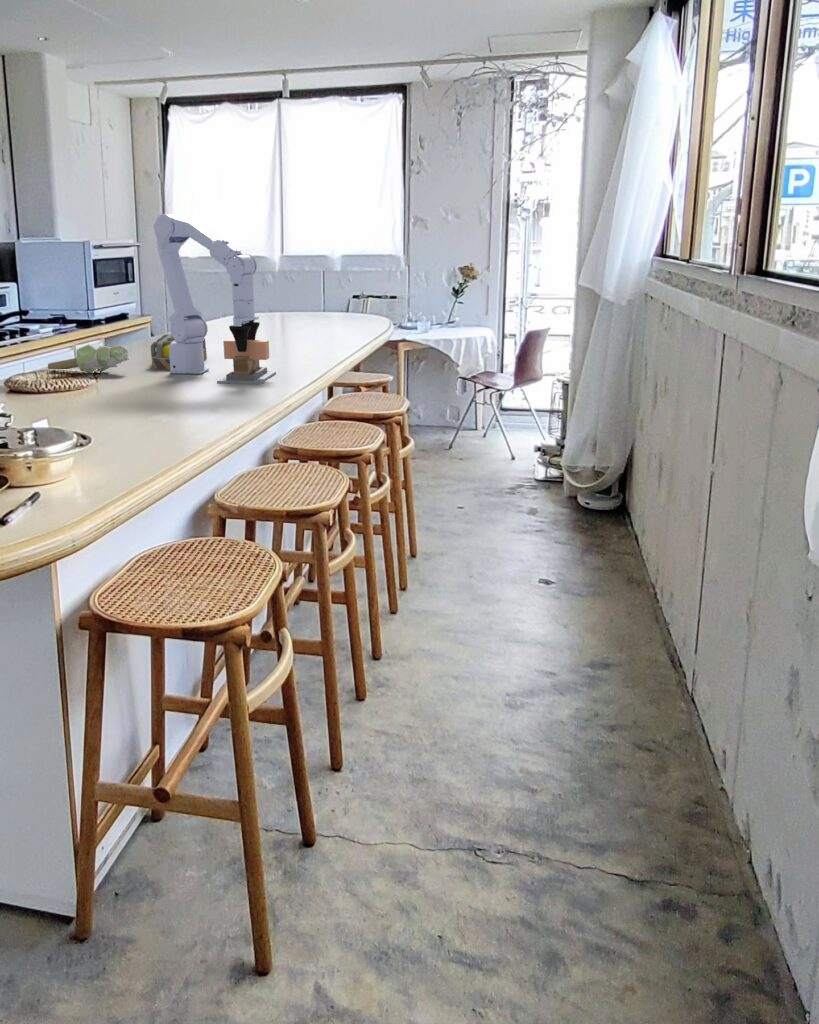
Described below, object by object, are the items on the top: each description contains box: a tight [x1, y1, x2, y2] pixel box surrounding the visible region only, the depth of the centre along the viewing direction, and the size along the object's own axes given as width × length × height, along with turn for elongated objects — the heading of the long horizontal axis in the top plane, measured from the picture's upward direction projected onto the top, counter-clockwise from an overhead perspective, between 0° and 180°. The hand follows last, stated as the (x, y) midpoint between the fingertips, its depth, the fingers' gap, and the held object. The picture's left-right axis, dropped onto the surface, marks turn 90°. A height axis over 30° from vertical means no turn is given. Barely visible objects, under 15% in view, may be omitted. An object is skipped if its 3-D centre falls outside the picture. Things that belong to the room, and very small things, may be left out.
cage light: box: [150, 333, 208, 371], centre depth 264 cm, size 15×8×30 cm
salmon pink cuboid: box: [223, 338, 270, 361], centre depth 236 cm, size 12×4×5 cm, turn 85°
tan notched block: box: [232, 356, 261, 375], centre depth 237 cm, size 12×4×6 cm, turn 174°
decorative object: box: [47, 344, 130, 374], centre depth 244 cm, size 9×10×25 cm
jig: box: [216, 366, 277, 385], centre depth 238 cm, size 12×18×2 cm, turn 175°
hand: (246, 349), depth 236 cm, fingers open, 7 cm apart
